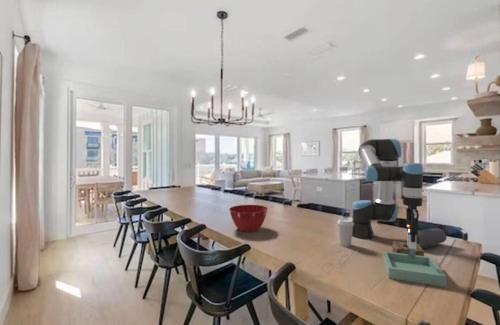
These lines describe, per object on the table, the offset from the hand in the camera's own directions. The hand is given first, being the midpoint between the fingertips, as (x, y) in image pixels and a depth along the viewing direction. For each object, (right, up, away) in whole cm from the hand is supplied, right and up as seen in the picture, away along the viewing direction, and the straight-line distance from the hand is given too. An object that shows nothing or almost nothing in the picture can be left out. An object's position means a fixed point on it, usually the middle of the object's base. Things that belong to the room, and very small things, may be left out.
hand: (411, 247), depth 117 cm
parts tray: (0, -12, 0) cm, 12 cm away
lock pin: (0, -5, 0) cm, 5 cm away
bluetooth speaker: (+30, -11, +34) cm, 47 cm away
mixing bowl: (-76, -10, +69) cm, 103 cm away
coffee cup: (-17, -11, +36) cm, 41 cm away
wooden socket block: (+9, -11, +17) cm, 22 cm away
